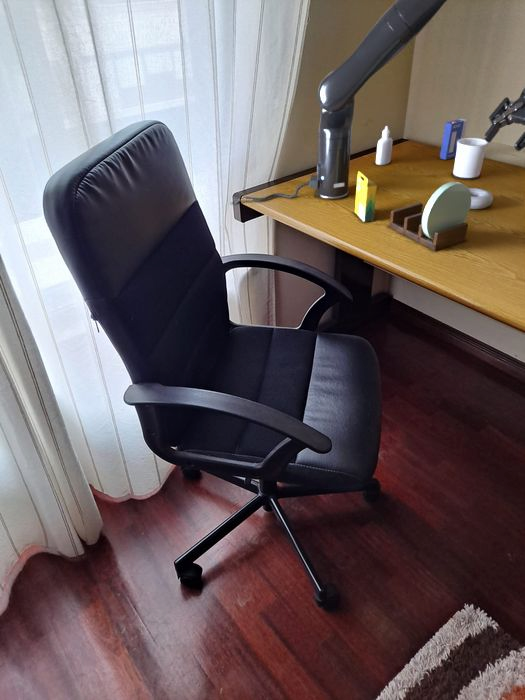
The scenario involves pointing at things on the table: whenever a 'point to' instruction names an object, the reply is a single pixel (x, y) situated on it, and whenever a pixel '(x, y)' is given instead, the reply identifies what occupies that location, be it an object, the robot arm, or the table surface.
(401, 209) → the rack
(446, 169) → the table surface
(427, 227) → the plate
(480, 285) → the table surface
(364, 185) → the crayon box
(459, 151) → the mug
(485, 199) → the donut
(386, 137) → the eye dropper bottle
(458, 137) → the walkman
